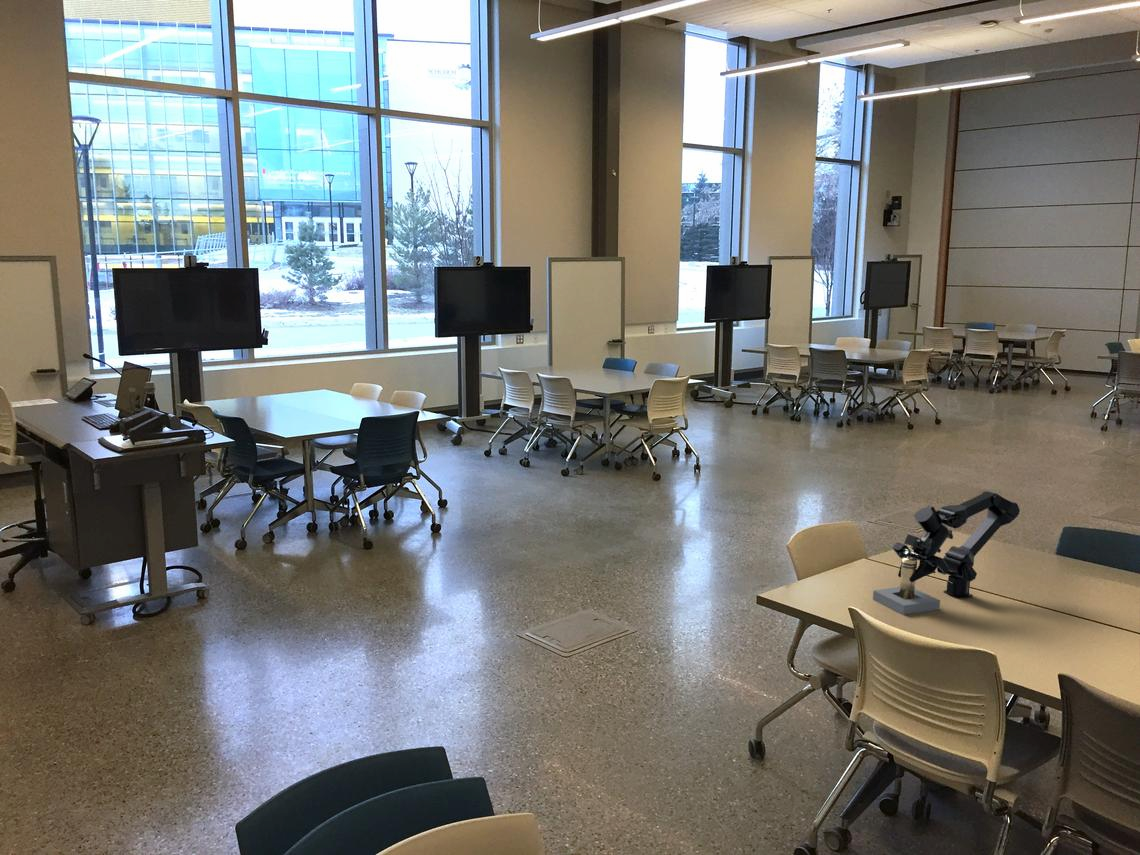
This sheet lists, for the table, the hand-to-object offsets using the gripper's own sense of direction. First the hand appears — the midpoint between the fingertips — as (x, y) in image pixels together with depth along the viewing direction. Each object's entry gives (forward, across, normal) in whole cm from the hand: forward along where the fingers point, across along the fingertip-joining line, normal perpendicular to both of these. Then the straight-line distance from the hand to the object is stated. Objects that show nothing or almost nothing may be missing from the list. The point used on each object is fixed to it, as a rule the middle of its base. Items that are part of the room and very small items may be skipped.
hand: (904, 579), depth 277 cm
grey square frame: (+5, 0, +7) cm, 9 cm away
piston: (+4, 0, +6) cm, 7 cm away
